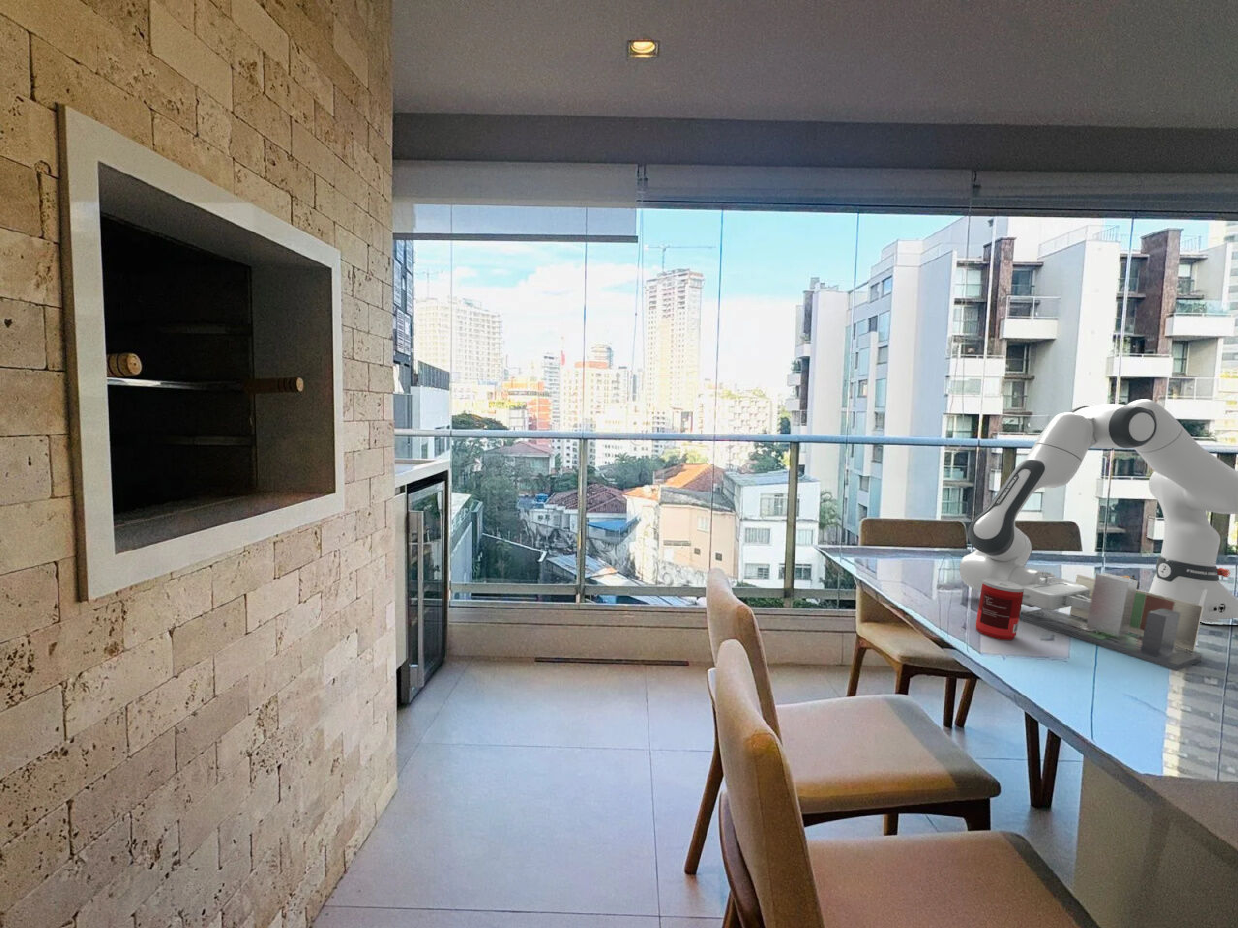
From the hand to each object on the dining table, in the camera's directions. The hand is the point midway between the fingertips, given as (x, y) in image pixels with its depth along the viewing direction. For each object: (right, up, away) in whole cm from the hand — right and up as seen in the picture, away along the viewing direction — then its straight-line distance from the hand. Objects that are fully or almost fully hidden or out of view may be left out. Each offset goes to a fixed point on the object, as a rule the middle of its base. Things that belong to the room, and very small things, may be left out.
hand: (1095, 606), depth 147 cm
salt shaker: (+17, -7, +13) cm, 23 cm away
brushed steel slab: (+3, -5, -1) cm, 6 cm away
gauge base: (+4, -7, 0) cm, 8 cm away
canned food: (-26, -5, -6) cm, 27 cm away
